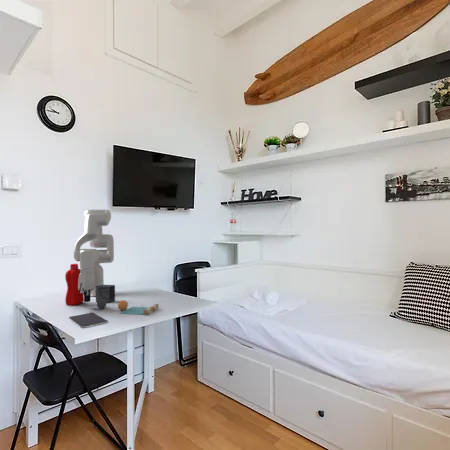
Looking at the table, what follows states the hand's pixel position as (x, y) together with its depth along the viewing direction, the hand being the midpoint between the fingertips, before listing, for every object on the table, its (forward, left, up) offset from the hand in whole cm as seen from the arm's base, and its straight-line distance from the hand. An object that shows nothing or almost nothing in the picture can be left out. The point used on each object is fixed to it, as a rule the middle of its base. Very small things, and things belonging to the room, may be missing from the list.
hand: (87, 301), depth 190 cm
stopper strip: (-1, +41, -4) cm, 41 cm away
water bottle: (-8, -14, -4) cm, 16 cm away
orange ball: (-1, +23, -1) cm, 23 cm away
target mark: (-1, +32, -4) cm, 32 cm away
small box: (-17, +1, -4) cm, 17 cm away
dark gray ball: (-1, +9, -1) cm, 9 cm away
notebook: (+21, +16, -5) cm, 27 cm away
